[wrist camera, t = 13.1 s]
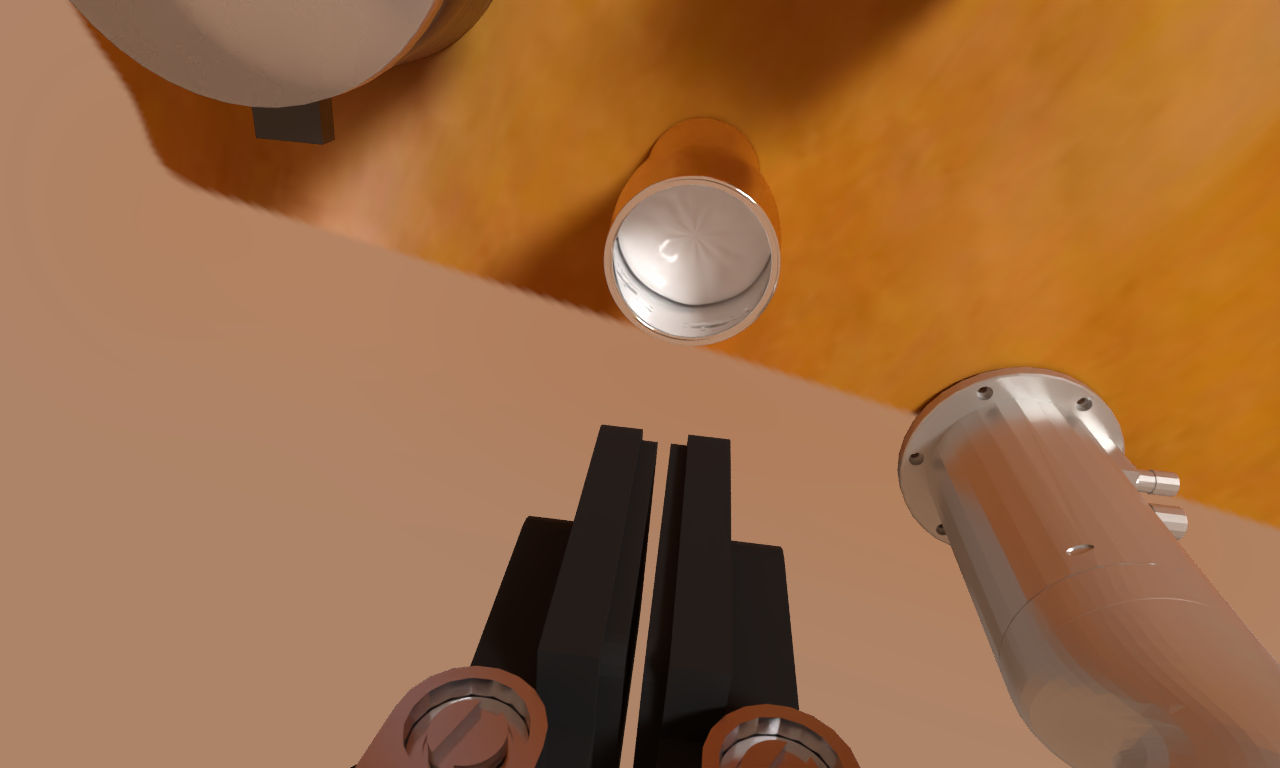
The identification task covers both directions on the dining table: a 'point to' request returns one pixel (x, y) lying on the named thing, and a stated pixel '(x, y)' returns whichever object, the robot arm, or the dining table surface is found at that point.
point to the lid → (263, 43)
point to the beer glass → (695, 237)
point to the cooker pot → (448, 25)
